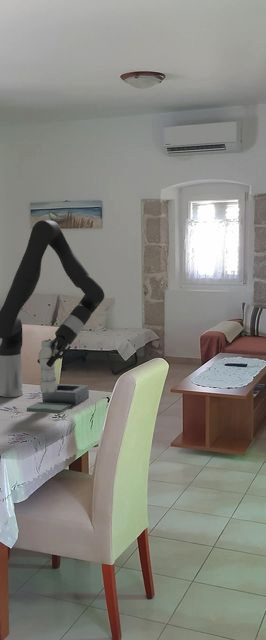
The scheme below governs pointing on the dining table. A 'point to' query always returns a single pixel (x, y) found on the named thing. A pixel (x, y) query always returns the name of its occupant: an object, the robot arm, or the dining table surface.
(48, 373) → the silver metal bottle
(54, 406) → the grey-green rectangular panel
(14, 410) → the dining table surface
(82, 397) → the metal collar
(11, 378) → the robot arm
